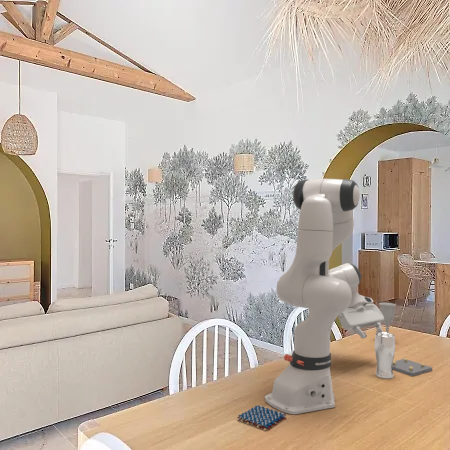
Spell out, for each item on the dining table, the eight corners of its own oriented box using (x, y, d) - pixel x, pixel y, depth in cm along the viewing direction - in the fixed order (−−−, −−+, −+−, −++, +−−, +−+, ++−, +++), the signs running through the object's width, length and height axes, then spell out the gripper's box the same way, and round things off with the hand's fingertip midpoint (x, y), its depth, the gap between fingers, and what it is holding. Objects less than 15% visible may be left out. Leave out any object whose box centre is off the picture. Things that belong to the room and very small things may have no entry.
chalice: (377, 344, 199) (378, 304, 199) (379, 340, 205) (380, 302, 205) (394, 346, 196) (395, 306, 196) (396, 342, 202) (397, 303, 202)
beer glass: (391, 372, 162) (392, 332, 162) (397, 379, 155) (397, 337, 155) (372, 372, 163) (372, 331, 163) (376, 378, 156) (377, 336, 156)
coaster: (412, 376, 158) (412, 369, 158) (384, 367, 169) (384, 360, 169) (432, 370, 165) (432, 364, 165) (404, 361, 175) (404, 355, 175)
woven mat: (256, 409, 131) (257, 403, 131) (287, 420, 125) (287, 413, 125) (235, 422, 123) (235, 415, 123) (266, 434, 116) (266, 426, 116)
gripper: (338, 303, 164) (359, 335, 156) (374, 297, 175) (395, 327, 167) (329, 312, 168) (349, 344, 160) (365, 307, 179) (385, 336, 171)
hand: (373, 335), depth 163 cm, fingers open, 8 cm apart
